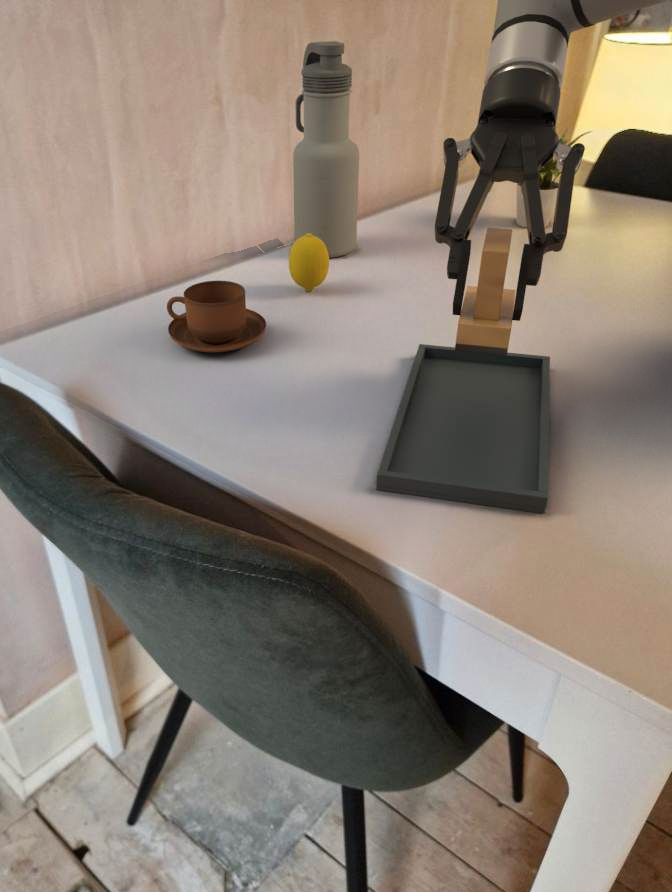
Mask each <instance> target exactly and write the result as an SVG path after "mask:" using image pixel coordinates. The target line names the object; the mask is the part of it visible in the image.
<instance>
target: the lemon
mask: <svg viewBox="0 0 672 892" xmlns="http://www.w3.org/2000/svg"><path fill="white" fill-rule="evenodd" d="M288 270H289V275H290V277H291V279H292V280H293V282H294V283H295V284H296V285H297V286H299V287H301V288H303V289H304V290H305V291H306V292H312V291H313V290H314V288H317V287H319V286H320V285H321V284H322V283H324V282H325V280H326V278H327V276H328V273H329V270H330V258H329V256H328V251H327V248H326V246H325V244H324V243H323V241H322V240H320V239H319V238H318V237H316V236H313V235H312V234H311V233H307V234H306V235H305V236H302V237H300V238H299V239H298V240H296V242H295V241H294V243H293V244H292V246H291V248H290V252H289V257H288Z"/></svg>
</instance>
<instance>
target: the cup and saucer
mask: <svg viewBox="0 0 672 892" xmlns="http://www.w3.org/2000/svg"><path fill="white" fill-rule="evenodd" d="M246 299H247V298H246V289H245V287H244V286H243V285H242V284H240V283H237V282H234V281H229V280H207V281H203V282H202V281H201V282H198V283H194V284H192V285H189V286H188V287H187V288H186V289H184V292H183V296H180V295H179V296H178V295H177V296H172V297H171V298H169V300H168V301H167V303H166V311H167V314H168V315H169V316H170V317H171V318H172V320H171V321H170V322H169V324H168V326H167V331H168V334H169V336H170V338H171V340H173V342H175V343H177V344H178V345H179V346H181V347H182V348H185V349H188V350H191V351H195V352H201V353H224V352H225V353H226V352H232V351H236V350H239V349H243V348H246V347H248V346H250V345H252V344H253V343H255V342H256V341H258V340H259V339H260V338H261V337H262V336H263V335H264V333H265V331H266V327H267V322H266V319H265V318H264V316H262V315H261V314H260V313H258V312H257V311H255V310H251V309H249V308H247V305H246V304H247V303H246ZM175 303H181V304H183V305H184V308H185V312H184V313H181V314H177V313H176V312H175V311H174V310H173V304H175Z"/></svg>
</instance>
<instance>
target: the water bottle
mask: <svg viewBox="0 0 672 892" xmlns="http://www.w3.org/2000/svg"><path fill="white" fill-rule="evenodd" d="M344 54H345V43H344V42H339V41H337V40H336V41H335V40H331V41H329V40H327V41H315V42H313V41H312V42H309V43H308V44H307V45H306V47H305V50H304V54H303V60H302V69H301V77H302V78H301V80H302V84H301V85H302V86H301V87H302V89H301V94H299V95H298V96H297V97H296V99H295V127H296V129H297V131H299V132H300V133H303V138H302V140H300V141H299V142H298V143H297V144H296V146H295V147H294V149H293V152H292V168H293V169H292V171H293V174H292V175H293V178H292V179H293V229H294V233H293V234H294V236H293V237H294V243H295V242H296V240H298V239H299V238H300V237H302V236H305V235H306V234H307V233H311V234H312V235H313V236H316V237H318V238H319V239H320V240H322V241H323V243H324V244H325V246H326V248H327V251H328V256H329V259H333V258H334V259H335V258H339V257H343V256H345V255H348V254H350V253H352V252H353V251H354V250H355V248H356V246H357V239H358V238H357V237H358V208H359V207H358V206H359V204H358V203H359V180H360V179H359V176H360V175H359V174H360V150H359V148H358V146H357V144H356V143H355V142H354V141H353V140H352V139H351V138H350V137H349V136H350V99H351V98H350V96H351V95H350V94H351V93H352V89H351V88H352V86H353V82H352V80H353V78H352V77H353V75H352V74H353V69H352V67H351V66H349V65H348V64H346V63H343V57H342V56H343V55H344ZM302 103H303V124H302V119H301V116H302V115H301V113H302V112H301V107H302Z"/></svg>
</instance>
